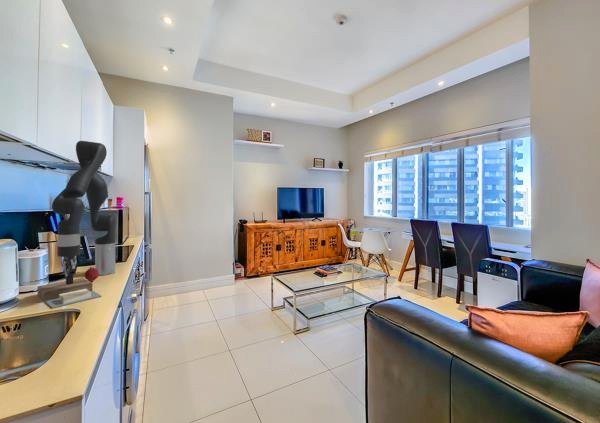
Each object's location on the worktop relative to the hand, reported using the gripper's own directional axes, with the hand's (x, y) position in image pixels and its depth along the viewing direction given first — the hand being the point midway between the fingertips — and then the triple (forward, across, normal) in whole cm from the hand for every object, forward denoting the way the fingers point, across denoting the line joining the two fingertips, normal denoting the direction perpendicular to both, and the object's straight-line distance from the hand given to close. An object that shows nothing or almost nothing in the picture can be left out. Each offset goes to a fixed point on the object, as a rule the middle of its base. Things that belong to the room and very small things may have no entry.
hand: (69, 283), depth 114 cm
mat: (+6, -5, 0) cm, 8 cm away
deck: (+6, +6, 0) cm, 8 cm away
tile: (+3, -6, 0) cm, 7 cm away
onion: (+6, +17, -13) cm, 22 cm away
